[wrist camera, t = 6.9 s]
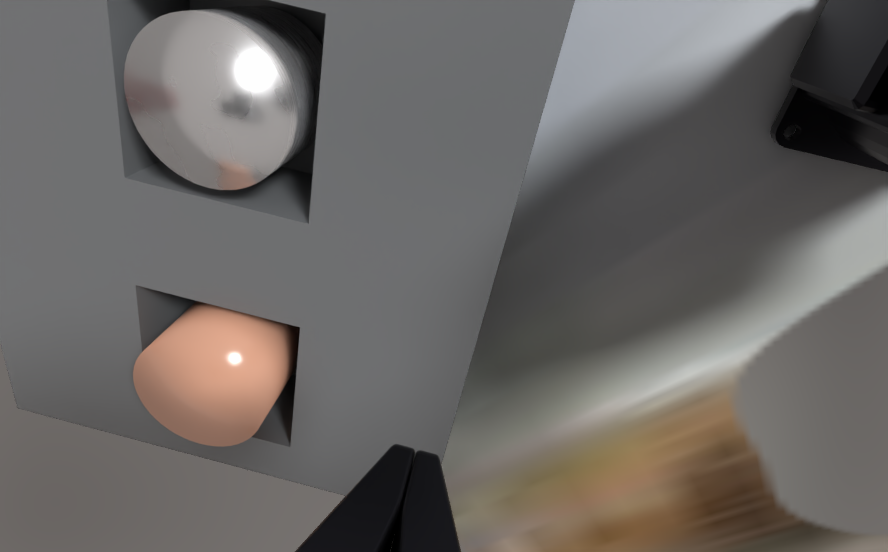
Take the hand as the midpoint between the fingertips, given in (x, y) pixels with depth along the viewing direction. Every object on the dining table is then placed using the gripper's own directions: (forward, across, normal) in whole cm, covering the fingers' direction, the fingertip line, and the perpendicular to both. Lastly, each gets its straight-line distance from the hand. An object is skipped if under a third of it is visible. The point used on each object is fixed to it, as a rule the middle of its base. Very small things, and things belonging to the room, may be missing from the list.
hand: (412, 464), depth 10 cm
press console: (+13, +8, +2) cm, 15 cm away
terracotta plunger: (+10, +8, +7) cm, 15 cm away
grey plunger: (+12, +8, -3) cm, 14 cm away
